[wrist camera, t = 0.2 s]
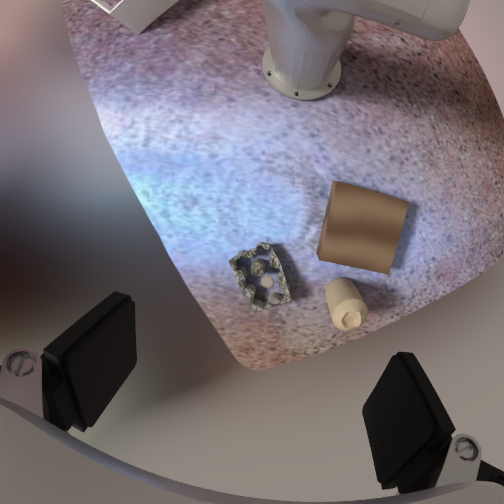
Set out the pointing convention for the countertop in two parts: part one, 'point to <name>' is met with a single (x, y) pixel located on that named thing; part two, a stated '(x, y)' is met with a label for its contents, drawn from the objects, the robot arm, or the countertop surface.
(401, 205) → the plinth
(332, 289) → the candle
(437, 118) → the countertop surface
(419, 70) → the countertop surface
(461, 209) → the countertop surface
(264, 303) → the egg carton
